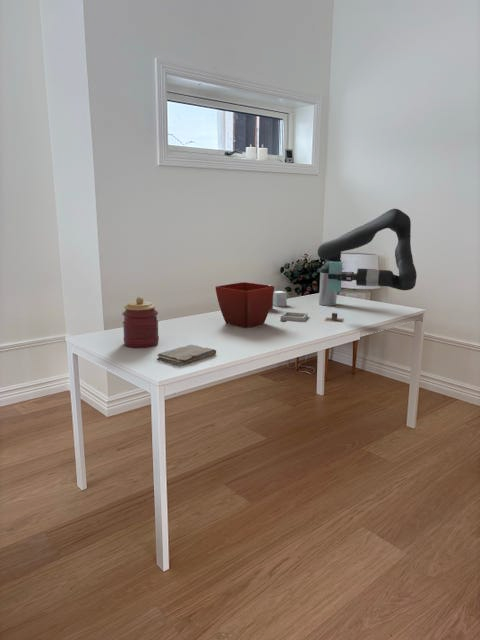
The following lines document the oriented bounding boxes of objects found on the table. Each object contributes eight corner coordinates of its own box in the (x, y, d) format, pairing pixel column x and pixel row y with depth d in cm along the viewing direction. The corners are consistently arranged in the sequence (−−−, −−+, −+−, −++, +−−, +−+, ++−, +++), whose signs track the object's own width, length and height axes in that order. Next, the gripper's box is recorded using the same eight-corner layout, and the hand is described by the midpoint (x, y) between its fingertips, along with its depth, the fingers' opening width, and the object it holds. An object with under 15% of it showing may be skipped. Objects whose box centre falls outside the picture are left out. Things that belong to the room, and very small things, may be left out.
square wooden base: (326, 318, 223) (327, 311, 223) (344, 320, 221) (344, 312, 220) (324, 322, 216) (324, 314, 215) (342, 323, 214) (342, 315, 213)
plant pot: (214, 323, 212) (214, 286, 208) (243, 317, 226) (243, 281, 222) (246, 330, 199) (246, 291, 196) (274, 323, 213) (275, 286, 209)
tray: (285, 316, 228) (285, 311, 227) (307, 318, 225) (307, 313, 224) (280, 320, 218) (280, 316, 218) (303, 322, 215) (303, 317, 214)
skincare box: (286, 306, 253) (287, 292, 252) (276, 306, 251) (277, 293, 249) (280, 304, 259) (281, 290, 257) (271, 304, 256) (271, 291, 254)
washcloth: (154, 361, 159) (154, 352, 159) (192, 349, 173) (192, 341, 173) (180, 368, 152) (180, 359, 152) (217, 355, 166) (217, 347, 165)
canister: (127, 349, 170) (125, 301, 167) (120, 341, 182) (118, 295, 178) (162, 346, 175) (161, 299, 172) (154, 337, 187) (153, 293, 183)
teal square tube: (329, 289, 219) (330, 261, 216) (340, 290, 217) (342, 261, 214) (327, 291, 214) (329, 262, 211) (339, 292, 213) (340, 263, 210)
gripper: (369, 267, 216) (331, 265, 221) (367, 270, 202) (327, 269, 208) (368, 283, 217) (330, 281, 222) (366, 288, 204) (326, 286, 209)
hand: (329, 275), depth 215 cm, fingers closed on teal square tube, 5 cm apart
